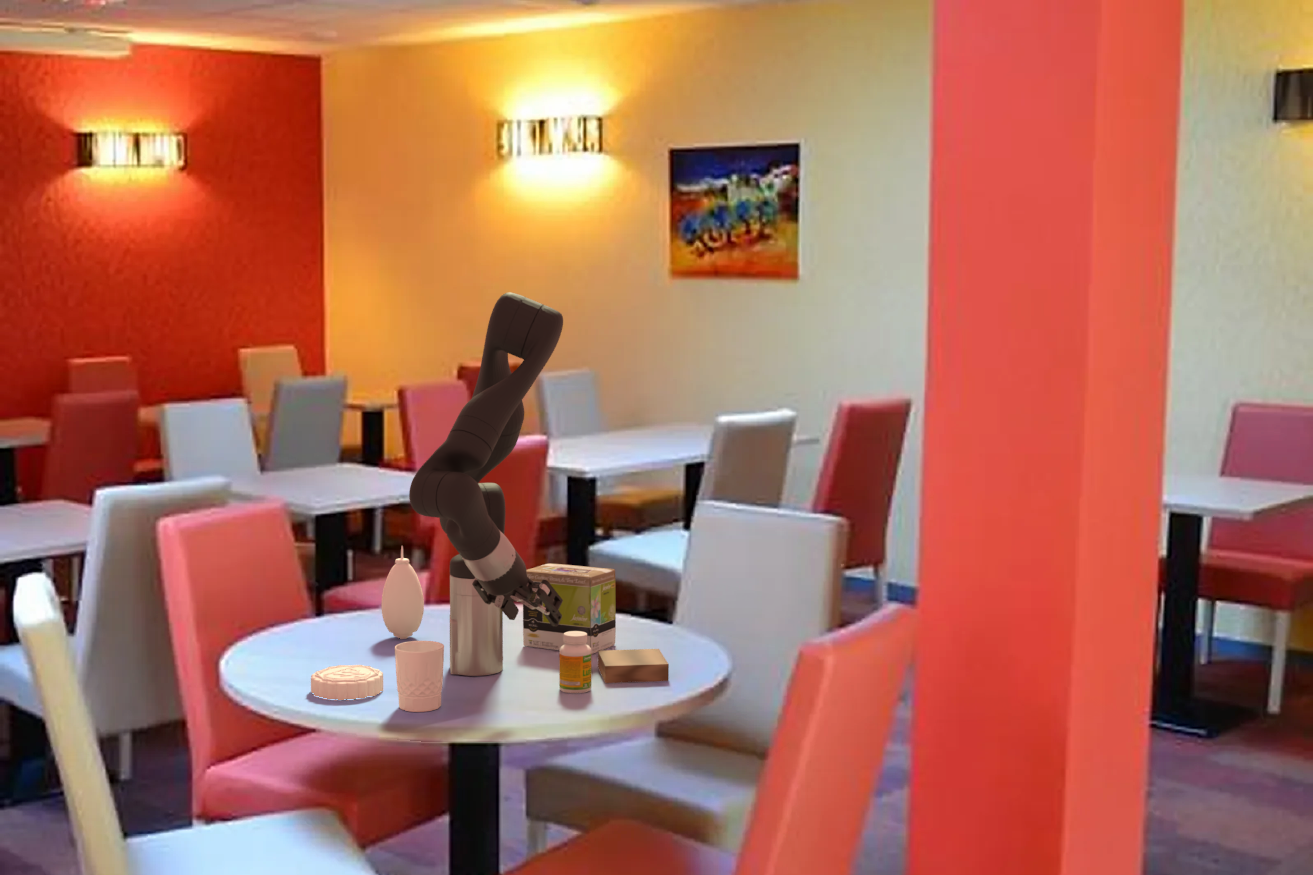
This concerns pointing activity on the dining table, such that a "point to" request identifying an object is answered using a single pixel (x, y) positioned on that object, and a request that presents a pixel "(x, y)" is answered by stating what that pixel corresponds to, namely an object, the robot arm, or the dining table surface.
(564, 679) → the supplement bottle
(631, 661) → the walnut plinth
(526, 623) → the tea box
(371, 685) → the mooncake
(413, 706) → the peach drinking glass
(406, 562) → the air blower bulb
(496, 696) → the dining table surface
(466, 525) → the robot arm
